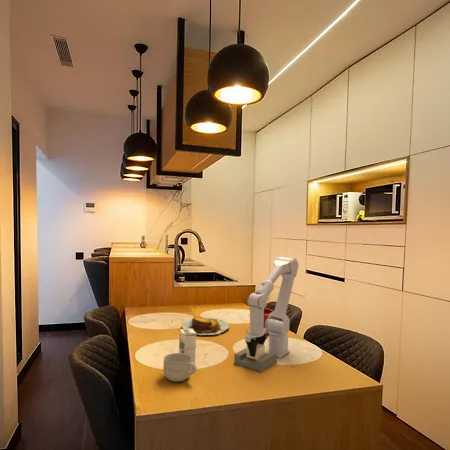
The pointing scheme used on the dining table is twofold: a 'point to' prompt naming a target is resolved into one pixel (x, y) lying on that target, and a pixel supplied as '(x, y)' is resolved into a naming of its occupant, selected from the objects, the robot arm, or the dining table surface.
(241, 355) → the socket
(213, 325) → the food on plate
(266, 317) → the plant pot
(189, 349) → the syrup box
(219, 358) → the dining table surface
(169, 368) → the teacup
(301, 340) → the dining table surface
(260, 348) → the cream cube
